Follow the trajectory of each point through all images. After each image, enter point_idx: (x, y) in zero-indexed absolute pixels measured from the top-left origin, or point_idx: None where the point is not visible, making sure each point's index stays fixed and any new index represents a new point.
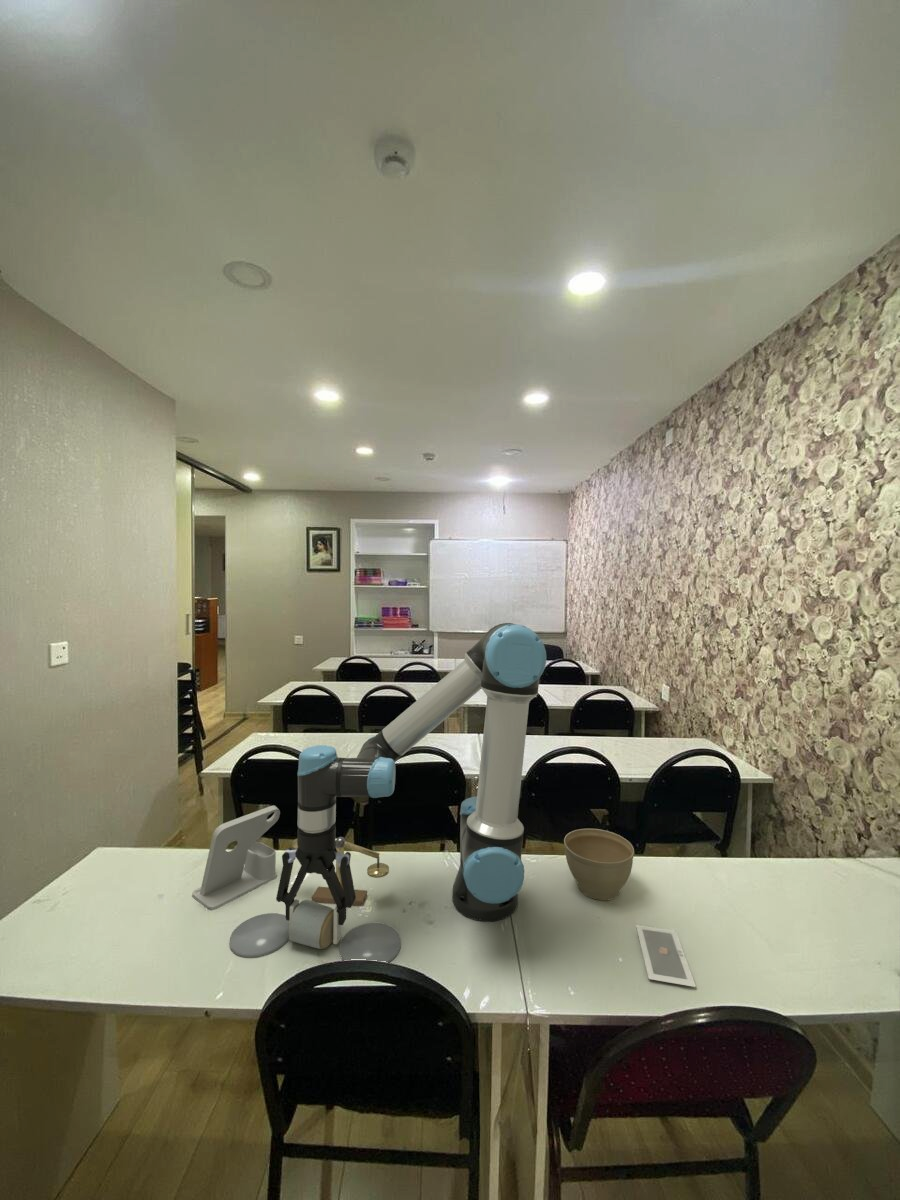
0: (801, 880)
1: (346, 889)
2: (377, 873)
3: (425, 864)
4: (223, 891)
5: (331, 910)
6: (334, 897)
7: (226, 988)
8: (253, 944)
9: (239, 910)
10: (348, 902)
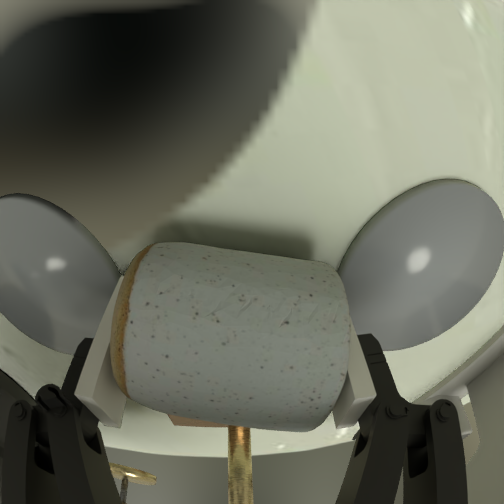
0: None
1: (11, 485)
2: (112, 471)
3: (124, 446)
4: (495, 355)
5: (131, 399)
6: (76, 465)
7: (464, 38)
8: (452, 229)
9: (475, 331)
10: (17, 424)
